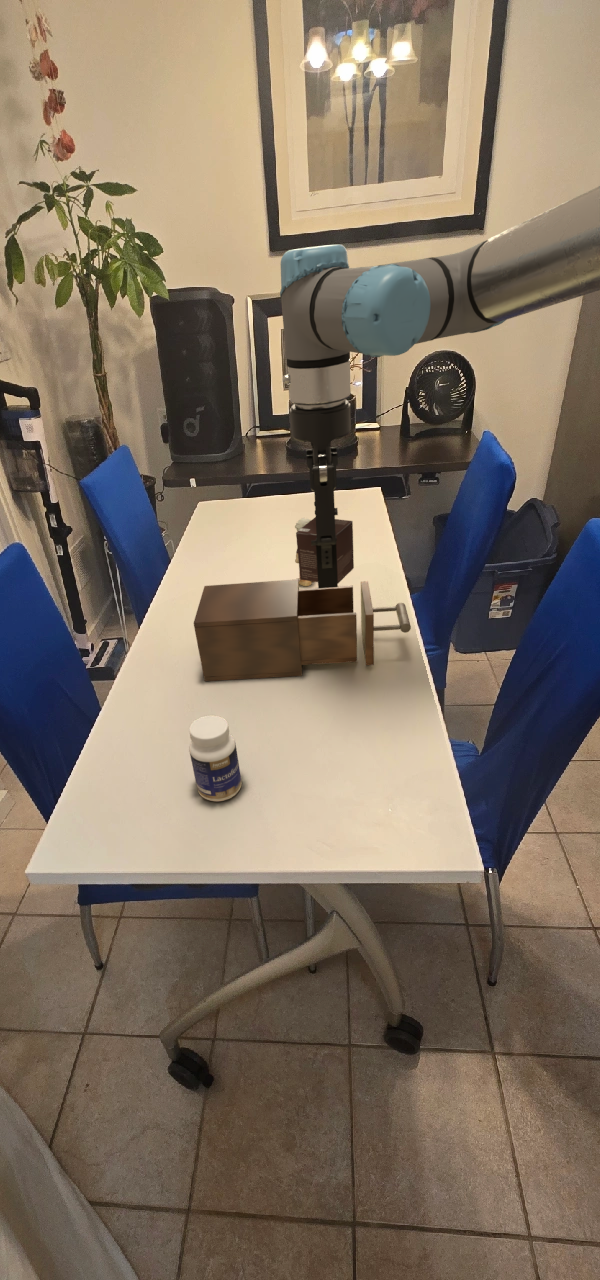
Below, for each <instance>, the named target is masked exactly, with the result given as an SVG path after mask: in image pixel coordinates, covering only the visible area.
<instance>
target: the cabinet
mask: <svg viewBox="0 0 600 1280" xmlns="http://www.w3.org/2000/svg"><path fill="white" fill-rule="evenodd" d="M299 581H300V580H299V579H298V578H297V579H283V580H270V581H269V580H268V581H267V580H266V581H254V582H253V581H252V582H240V583H226V584H212V585H204V586H203V589H202V593H201V596H200V599H199V604H198V606H197V610H196V613H195V616H194V620H193V629H194V633H195V638H196V642H197V648H198V654H199V659H200V664H201V669H202V675H203V680H204V682H213V681H231V680H233V681H234V680H249V679H250V680H253V679H268V678H269V679H270V678H289V677H302V676H303V665H301V653H300V641H299V629H298V590H299V589H300V584H299Z"/></svg>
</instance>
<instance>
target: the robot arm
mask: <svg viewBox="0 0 600 1280" xmlns="http://www.w3.org/2000/svg"><path fill="white" fill-rule="evenodd" d="M280 259H281V260H280V287H281V289H280V291H279V296H280V301H281V312H282V313H281V314H282V325H283V337H284V351H285V359H286V367H287V371H286V372H287V374H284V375H283V376H282V379H281V380H282V383H284V384H289V385H288V399H289V402H291V403H292V405H291V406H290V408H289V420H290V421H289V422H290V434H291V437H292V438H293V440H295V441H298V442H302V443H306V442H307V443H310V446H311V449H306V466H307V470H308V472H309V487H310V490H311V491H312V492H313V493H314V502H313V505H314V515H315V517H316V533H317V538H316V541H311V546H314V545H316V555H317V573H318V582H317V588H318V589H319V588H333V587H338V586H339V583H338V580H337V550H336V542H337V538H336V533H335V519H336V516H339V512H338V511H339V510H338V507H335V490H336V488H337V486H338V485H337V484H338V479H337V467H338V466H339V465H338V464H339V457H338V449H337V446H334V447H333V446H332V447H331V444H332V441H334V440H339V439H343V438H344V437H347V436H348V435H349V434H350V432H351V428H352V425H351V419H352V417H351V403H350V402H349V400H347V399H348V398H349V397H351V396H350V395H351V389H352V388H351V358H350V353H355V354H360V355H361V354H363V355H365V356H370V357H373V358H380V357H384V356H387V357H393V356H394V357H396V356H400V355H403V354H405V353H407V352H409V350H410V349H412V348H413V347H414V346H415V345H417V344H421V343H422V344H423V343H426V342H432V341H434V340H437V339H445V338H448V337H453V336H454V337H455V336H459V335H464V334H474V333H479V332H483V331H487V330H490V329H492V328H493V327H497V326H499V325H502V324H503V323H505V322H506V321H507V320H511V319H513V318H516V317H520V316H523V315H525V314H530V313H532V312H535V311H539V310H542V309H545V308H548V307H551V306H554V305H557V304H561V303H563V302H567V301H570V300H573V299H576V298H580V297H582V296H586V295H589V294H593V293H595V292H598V291H600V185H598V186H597V187H595V188H592V189H590V190H588V191H586V192H583V193H582V194H579V195H578V196H575V197H574V198H571V199H569V200H568V201H564V202H563V203H561V204H558V205H556V206H554V207H552V208H550V209H548V210H546V211H544V212H541V213H540V214H538V215H535V216H533V217H531V218H529V219H526V220H525V221H523V222H521V223H519V224H517V225H514V226H512V227H510V228H508V229H507V230H504V231H502V232H500V233H498V234H496V235H494V236H491V237H489V238H488V239H486V240H483V241H481V242H479V243H477V244H475V245H473V246H471V247H468V248H467V249H464V250H461V251H459V252H455V253H451V254H450V253H449V254H445V255H440V256H435V257H432V256H431V257H425V258H418V259H412V260H405V261H397V262H391V263H385V264H379V265H371V266H357V267H350V265H349V258H348V250H347V248H346V247H345V246H344V244H341V243H340V244H326V245H318V246H317V245H316V246H309V247H301V248H296V249H289V250H287V251H285V252H284V253H283V255H282V257H281V258H280Z"/></svg>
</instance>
